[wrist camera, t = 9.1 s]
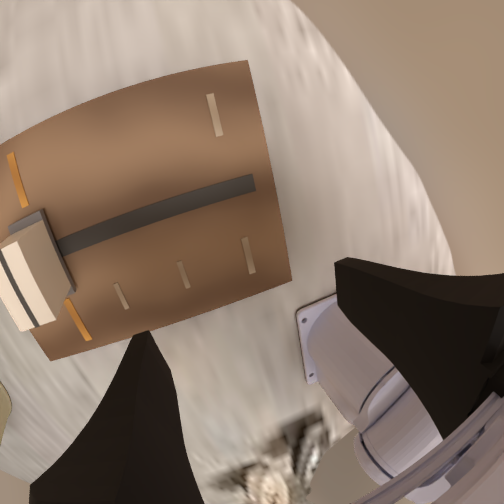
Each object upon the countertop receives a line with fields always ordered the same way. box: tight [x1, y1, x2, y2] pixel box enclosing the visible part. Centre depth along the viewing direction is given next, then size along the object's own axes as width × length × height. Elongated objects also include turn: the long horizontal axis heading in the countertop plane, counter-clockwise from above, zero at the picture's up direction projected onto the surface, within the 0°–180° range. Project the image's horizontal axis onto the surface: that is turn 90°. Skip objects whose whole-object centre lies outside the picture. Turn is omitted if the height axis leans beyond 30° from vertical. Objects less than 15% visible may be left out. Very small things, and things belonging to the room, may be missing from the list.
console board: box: [0, 60, 292, 361], centre depth 16 cm, size 14×18×2 cm
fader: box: [0, 209, 77, 332], centre depth 12 cm, size 5×2×4 cm, turn 12°
